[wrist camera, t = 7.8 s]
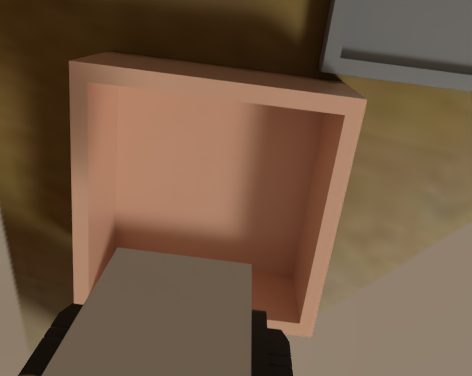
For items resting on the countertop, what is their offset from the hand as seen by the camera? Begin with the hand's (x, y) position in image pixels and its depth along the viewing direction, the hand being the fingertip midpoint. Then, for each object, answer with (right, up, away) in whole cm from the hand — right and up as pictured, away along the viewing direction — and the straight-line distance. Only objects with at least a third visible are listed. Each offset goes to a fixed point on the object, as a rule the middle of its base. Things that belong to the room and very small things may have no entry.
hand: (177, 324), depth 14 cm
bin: (0, +5, +13) cm, 14 cm away
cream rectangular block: (0, 0, 0) cm, 0 cm away
